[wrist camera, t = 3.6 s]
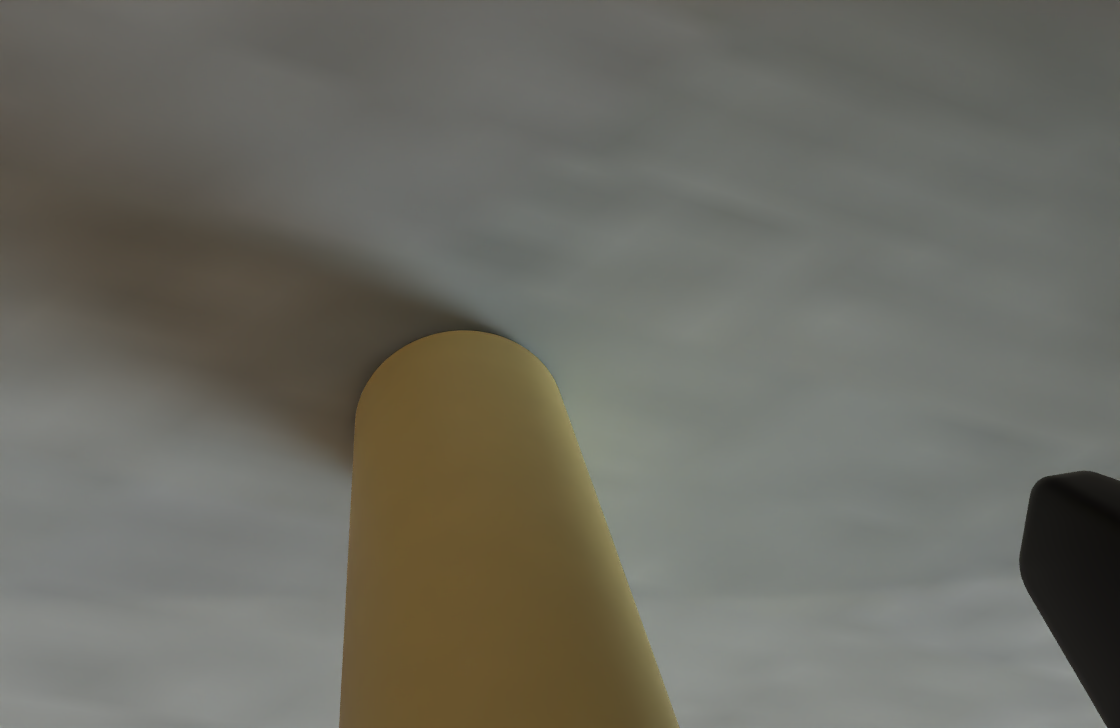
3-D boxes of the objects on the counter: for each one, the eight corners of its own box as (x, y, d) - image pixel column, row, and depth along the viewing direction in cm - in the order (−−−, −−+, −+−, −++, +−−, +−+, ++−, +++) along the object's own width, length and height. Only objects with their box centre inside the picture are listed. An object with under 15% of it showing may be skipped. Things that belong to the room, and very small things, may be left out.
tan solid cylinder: (555, 314, 10) (994, 1374, 3) (569, 493, 11) (920, 1613, 4) (337, 342, 10) (215, 1591, 3) (372, 523, 11) (354, 1786, 4)
